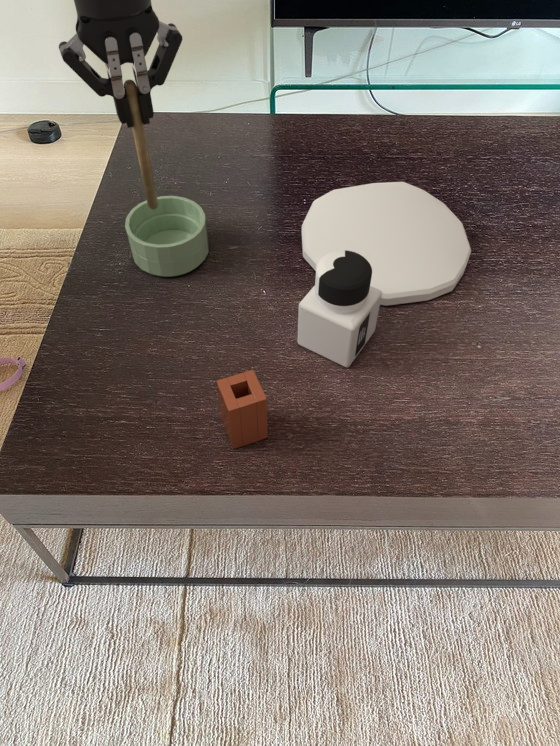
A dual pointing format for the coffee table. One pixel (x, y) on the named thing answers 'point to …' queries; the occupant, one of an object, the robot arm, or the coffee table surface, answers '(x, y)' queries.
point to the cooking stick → (141, 144)
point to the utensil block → (243, 408)
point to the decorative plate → (391, 238)
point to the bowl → (168, 236)
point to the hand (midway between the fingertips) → (136, 122)
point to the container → (339, 308)
